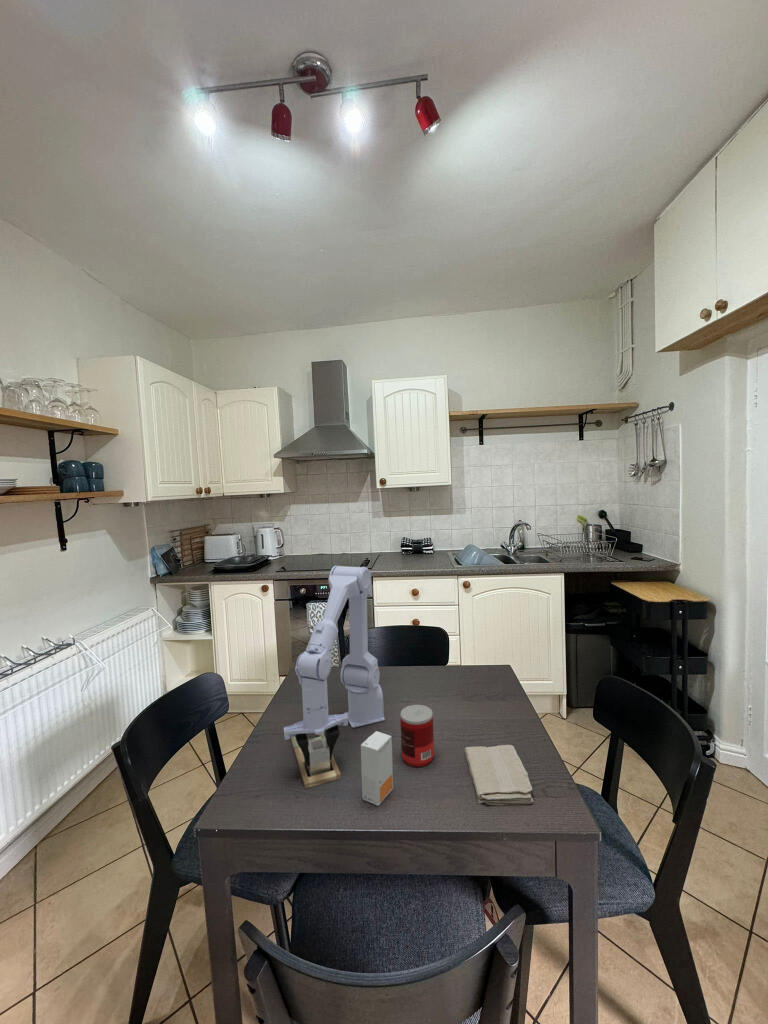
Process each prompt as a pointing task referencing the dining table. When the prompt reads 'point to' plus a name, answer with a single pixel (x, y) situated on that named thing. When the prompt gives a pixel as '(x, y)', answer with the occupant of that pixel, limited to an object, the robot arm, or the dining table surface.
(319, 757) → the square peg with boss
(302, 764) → the wooden peg board
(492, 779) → the washcloth
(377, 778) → the skincare box
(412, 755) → the canned food
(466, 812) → the dining table surface
